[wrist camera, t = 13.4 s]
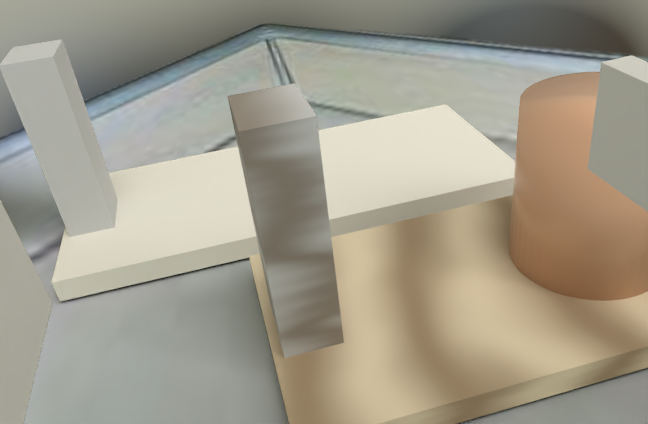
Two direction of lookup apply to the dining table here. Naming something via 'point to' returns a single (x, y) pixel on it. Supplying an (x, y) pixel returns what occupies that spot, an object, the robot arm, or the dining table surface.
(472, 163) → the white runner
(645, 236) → the tan rounded cylinder
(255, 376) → the dining table surface
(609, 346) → the oak runner
